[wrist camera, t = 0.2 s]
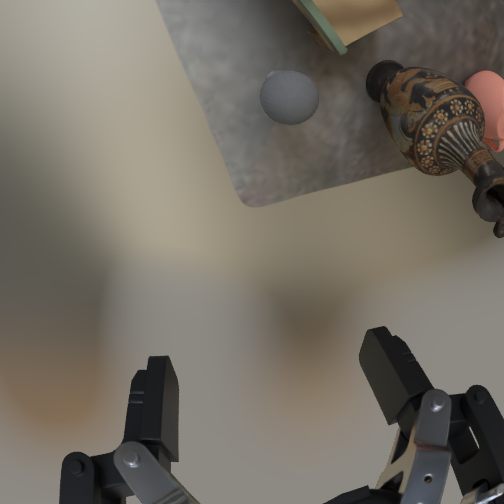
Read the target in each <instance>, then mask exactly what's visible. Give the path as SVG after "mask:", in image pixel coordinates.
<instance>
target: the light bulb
mask: <svg viewBox="0 0 504 504" xmlns="http://www.w3.org/2000/svg"><path fill="white" fill-rule="evenodd" d="M260 97H261V104H262V107H263V109H264V111H265V112H266V114H267V115H268V116H269V117H270V118H272V119H273V120H275V121H277V122H279V123H282V124H287V125H294V124H299V123H302V122H304V121H306V120H308V119H309V118H310V117H311V116H312V115H313V114H314V113H315V111H316V109H317V107H318V104H319V93H318V89H317V87H316V85H315V83H314V82H313V81H312V80H311V79H310V78H309V77H308V76H307V75H305V74H303V73H301V72H298V71H293V70H283V71H279V70H275V71H272V72H270V73H269V74H268V76H267V78H266V81H265V83H264V84H263V87H262V89H261V95H260Z"/></svg>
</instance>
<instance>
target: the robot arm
mask: <svg viewBox="0 0 504 504" xmlns="http://www.w3.org/2000/svg"><path fill="white" fill-rule="evenodd" d="M359 361H360V365H361V367H362V369H363V371H364V373H365V376H366V378H367V380H368V382H369V384H370V386H371V388H372V390H373V392H374V395H375V397H376V399H377V401H378V403H379V405H380V407H381V409H382V412H383V414H384V416H385V418H386V421H387V423H388V425H391V424H394V423H397V422H398V425H399V428H398V430H397V434H396V438H395V441H394V444H393V447H392V451H391V454H390V457H389V460H388V463H387V465H386V468H385V469H384V471H383V472H382V474H381V476H380V477H379V480H378V482H377V485H376V487H375V489H369V487H368V485H367V486H364V487H361V488H358V489H355V490H352V491H349V492H346V493H343V494H341V495H339V496H337V497H335V498H334V499H331V500H329V501H328V502H326V503H324V504H440V502H441V498H442V495H443V491H444V487H445V483H446V479H447V475H448V470H449V466H450V463H451V465H452V468H453V470H454V473H455V476H456V478H457V481H458V484H459V487H460V489H461V492H462V495H463V499H462V501H461V504H504V419H503V417H502V415H501V413H500V411H499V409H498V407H497V406H496V404H495V402H494V400H493V398H492V397H491V395H490V393H489V392H488V391H487V389H486V388H485V387H483V386H481V385H473V386H471V387H470V388H469V389H468V390H467V392H466V393H463V394H454V395H448V394H447V393H445V392H444V391H442V390H439V389H435V388H434V387H433V386H432V384H431V383H430V381H429V379H428V378H427V376H426V374H425V373H424V371H423V370H422V368H421V366H420V365H419V363H418V362H417V361H416V359H415V357H414V355H413V354H412V353H411V351H410V349H409V347H408V346H407V344H406V343H405V342H404V341H403V340H402V339H400V338H399V337H397V336H396V335H395V336H392V335H391V333H390V332H389V330H388V329H387V328H386V327H385V326H382V327H377V328H373V329H369V330H367V332H366V334H365V337H364V340H363V343H362V347H361V349H360V353H359ZM128 402H129V404H128V408H127V416H126V423H125V431H124V439H123V441H122V443H121V445H120V446H119V447H118V448H117V449H116V450H114V451H113V452H111V453H107V454H102V455H97V456H91V457H89V456H87V455H86V454H84V453H82V452H72V453H70V454H68V455H67V456H66V457H65V458H64V460H63V462H62V469H61V480H60V499H59V504H126V497H128V496H133V495H136V496H137V497H138V499H139V500H140V501H141V503H142V504H200V503H199V502H198V501H197V500H196V499H195V498H194V497H193V496H192V495H191V494H190V493H189V492H188V491H187V490H186V489H185V488H184V486H183V485H182V484H181V483H180V482H179V481H178V480H177V479H176V478H175V477H174V476H173V474H172V473H171V462H179V461H178V460H179V458H178V414H179V411H178V410H179V385H178V379H177V376H176V374H175V371H174V368H173V366H172V363H171V360H170V358H169V356H150V357H149V359H148V365H147V370H138V371H137V373H136V374H135V376H134V378H133V379H132V382H131V388H130V395H129V401H128ZM469 427H471V429H472V431H473V433H474V435H475V437H476V439H477V442H478V444H479V449H478V447H477V444H476V442H475V440H474V438H473V436H472V433H471V431H470V429H469Z"/></svg>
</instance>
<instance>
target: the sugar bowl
mask: <svg viewBox="0 0 504 504" xmlns="http://www.w3.org/2000/svg"><path fill="white" fill-rule="evenodd" d="M464 86H465V87H466V88H467V89H468V90H469V91H470V92H472V94H473V95H474V96H475V97H476V98H477V100H478V101H479V102H480V104H481V107H482V109H483V111H484V117H485V132H484V136H483V139H482V140H483V142H486V143H487V144H488V145H489V147H490V148H491V149H492V150H493V151H495V152H500V151H502V150H503V148H504V80H503V79H502V78H501V77H500V76H499V75H497V74H496V73H494V72H492V71H480V72H478V73H476V74H474V75H472V76H471V77H470V78H469V79H467V80H466V82H465V85H464ZM491 139H496V140H499V146H498V147H497V146H496V145H495V144H494V143H493V141H492V140H491Z"/></svg>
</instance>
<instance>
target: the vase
mask: <svg viewBox="0 0 504 504" xmlns="http://www.w3.org/2000/svg"><path fill="white" fill-rule="evenodd" d="M366 87H367V91H368V94H369V96H370V97H371V98H372V99H373V100H374V101H376V102H378V103H380V107H381V113H382V116H383V119H384V122H385V124H386V127H387V129H388V131H389V133H390V135H391V137H392V138H393V140H394V142H395V143H396V145H397V146H398V148H399V150H400V151H401V152H402V154H403V155H404V156H405V157H406V159H407V160H408V161H409V162H410V163H411V164H412V165H413V166H414V167H415V168H416V169H418V170H420V171H421V172H423V173H425V174H428V175H435V176H441V175H445V174H449V173H452V172H454V171H456V170H458V169H460V170H461V171H462V172H463V173H464V174H465V175H466V176H467V177H468V178H469V179H470V180H471V181H472V182H473V184H474V185H475V186H476V189H475V191H474V194H473V199H472V203H473V208H474V210H475V211H476V213H477V214H478V215H479V216H480V217H481V218H482V219H483V220H485V221H489V222H496V224H495V226H494V229H493V232H494V235H495V236H496V237H497V238H502V237H504V167H503V166H502V165H501V164H500V163H499V162H498V161H497V160H496V158H495V157H494V156H493V155H492V154H491V152H490V151H489V150H488V149H487V147H486V146H485V144H484V142H483V140H482V139H483V136H484V132H485V117H484V111H483V109H482V107H481V104H480V102H479V101H478V100H477V98H476V97H475V96H474V95H473V94H472V92H470V91H469V90H468V89H467V88H466V87H465V86H463V85H462V84H460V83H459V82H458V81H456V80H455V79H453V78H451V77H449V76H447V75H445V74H443V73H440V72H437V71H434V70H431V69H427V68H420V67H409V68H404V67H403V66H402V65H401V64H399V63H397V62H395V61H390V60H386V61H382V62H380V63H378V64H377V65H375V66H374V67H373V68H372V70H371V71H370V73H369V74H368V77H367V81H366Z"/></svg>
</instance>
